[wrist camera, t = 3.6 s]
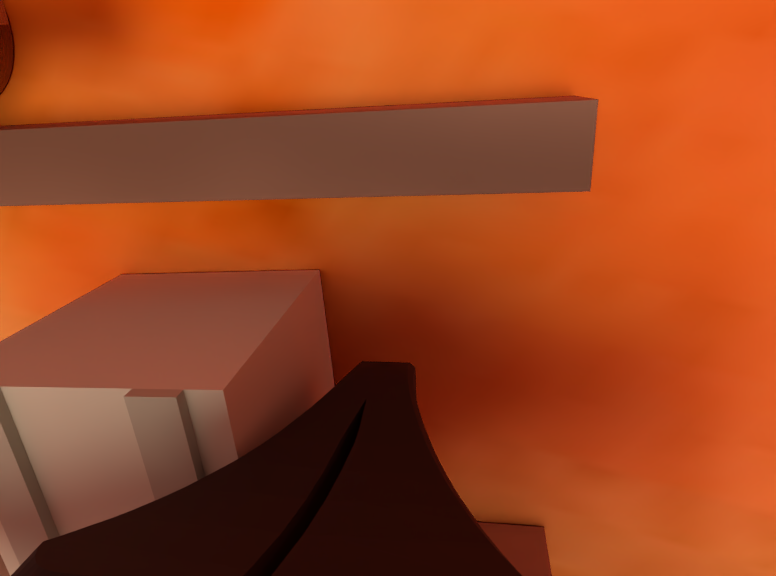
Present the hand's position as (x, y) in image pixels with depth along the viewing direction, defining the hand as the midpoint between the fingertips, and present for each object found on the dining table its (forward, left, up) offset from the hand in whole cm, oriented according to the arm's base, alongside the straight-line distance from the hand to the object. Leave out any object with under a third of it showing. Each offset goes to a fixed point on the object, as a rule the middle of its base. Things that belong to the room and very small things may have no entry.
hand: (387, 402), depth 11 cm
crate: (0, +4, -1) cm, 4 cm away
